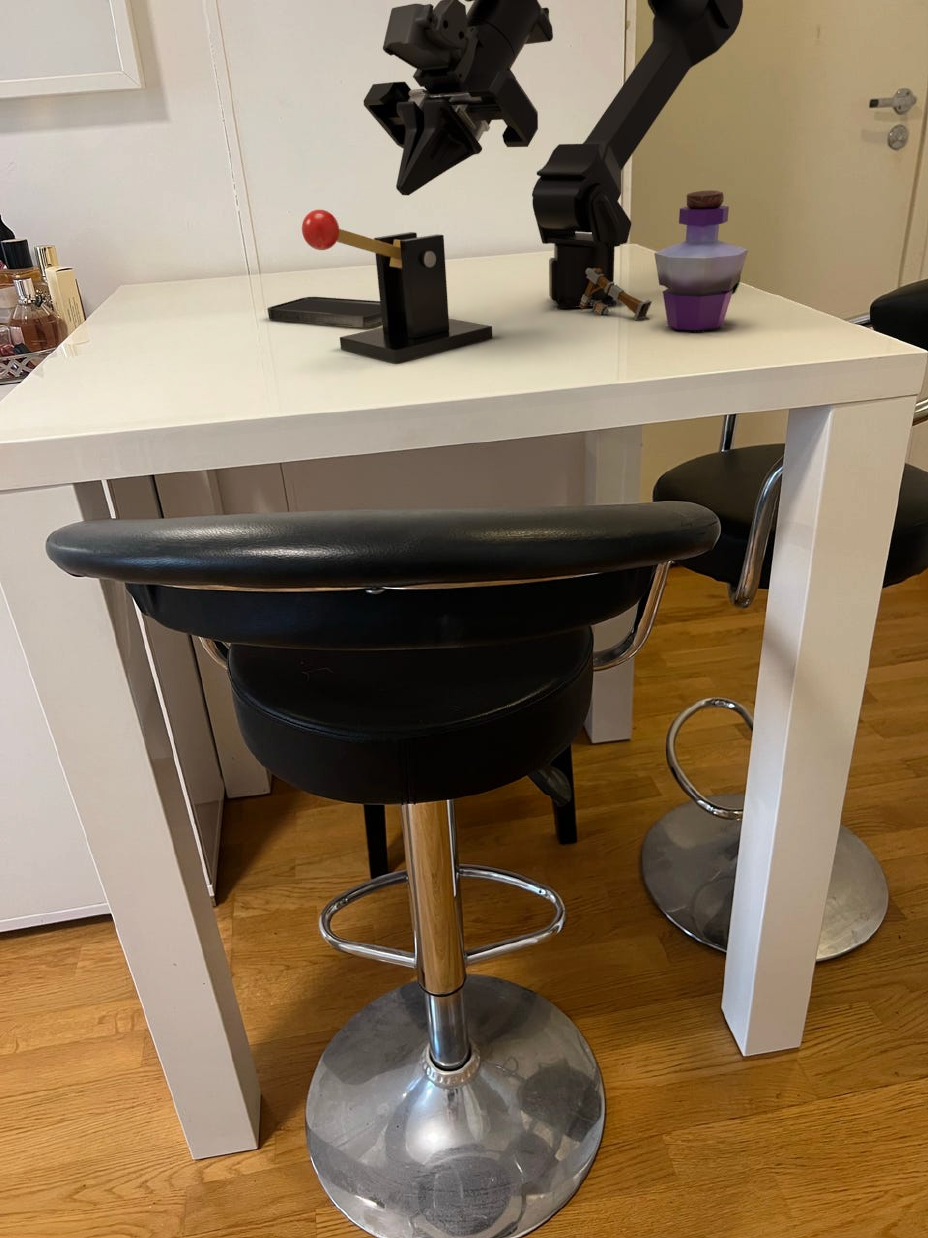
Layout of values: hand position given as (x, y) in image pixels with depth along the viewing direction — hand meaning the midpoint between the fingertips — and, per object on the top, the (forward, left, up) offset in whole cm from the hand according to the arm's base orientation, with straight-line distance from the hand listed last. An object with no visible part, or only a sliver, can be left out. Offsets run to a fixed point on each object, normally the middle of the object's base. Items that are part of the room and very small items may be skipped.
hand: (401, 191), depth 80 cm
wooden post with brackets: (-21, -8, -14) cm, 26 cm away
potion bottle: (-28, -1, -14) cm, 31 cm away
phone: (+9, -16, -14) cm, 23 cm away
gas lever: (+4, +3, -5) cm, 7 cm away
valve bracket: (0, 0, -14) cm, 14 cm away
